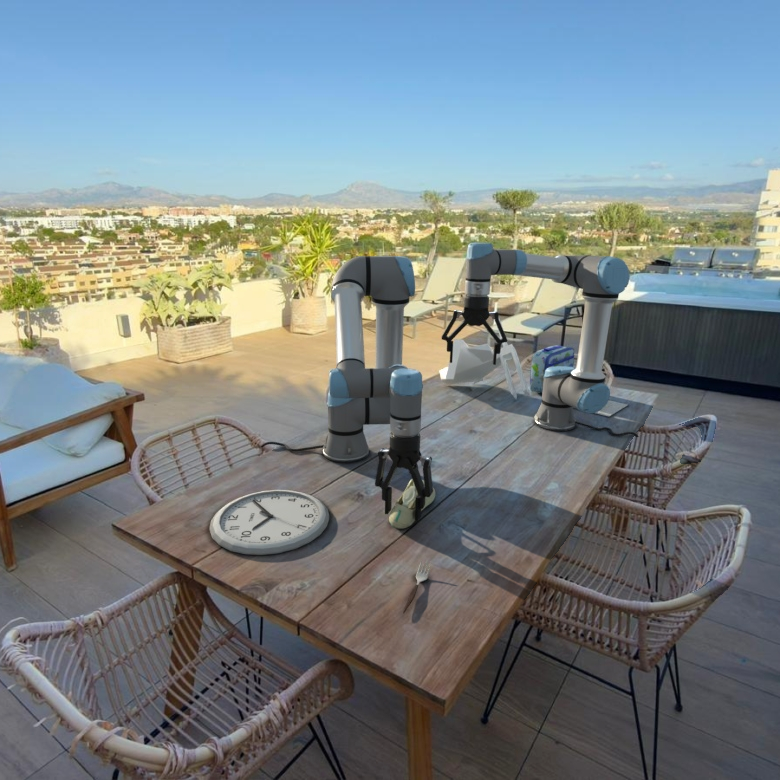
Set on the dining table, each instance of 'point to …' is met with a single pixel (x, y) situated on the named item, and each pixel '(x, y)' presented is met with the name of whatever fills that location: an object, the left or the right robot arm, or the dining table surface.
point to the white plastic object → (480, 364)
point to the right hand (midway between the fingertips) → (472, 362)
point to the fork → (420, 577)
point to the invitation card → (611, 408)
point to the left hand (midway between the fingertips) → (402, 514)
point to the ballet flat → (407, 507)
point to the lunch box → (548, 363)
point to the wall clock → (269, 522)
